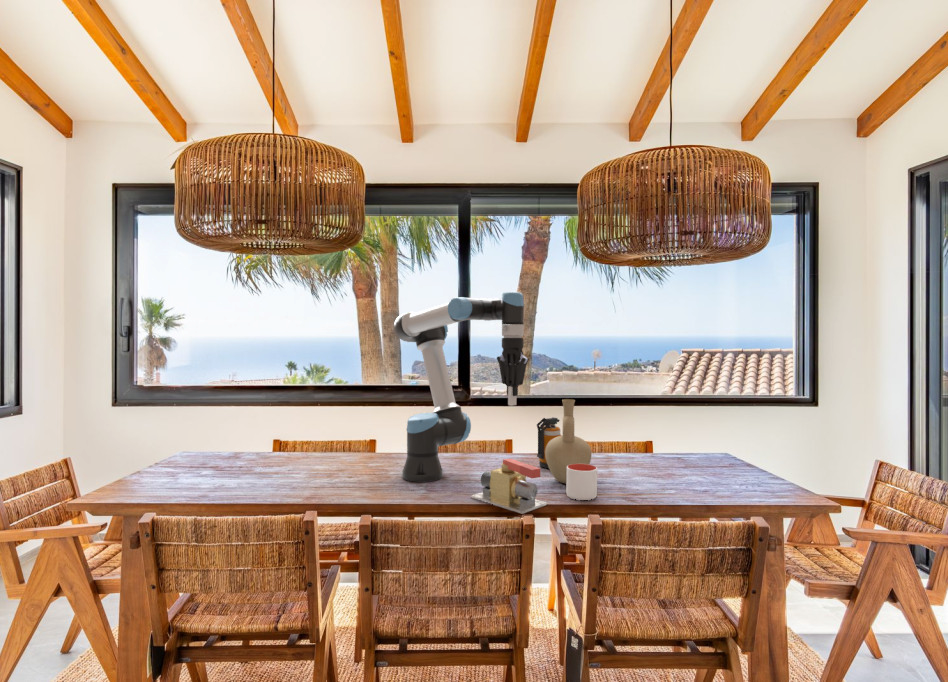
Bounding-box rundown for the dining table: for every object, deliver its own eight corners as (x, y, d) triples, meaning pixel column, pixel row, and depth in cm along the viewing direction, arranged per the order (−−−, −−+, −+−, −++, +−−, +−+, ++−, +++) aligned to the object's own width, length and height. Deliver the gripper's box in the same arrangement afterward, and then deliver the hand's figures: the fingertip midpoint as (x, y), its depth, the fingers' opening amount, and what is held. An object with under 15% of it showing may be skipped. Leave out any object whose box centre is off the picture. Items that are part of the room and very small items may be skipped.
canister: (566, 467, 222) (566, 417, 222) (545, 471, 216) (545, 420, 215) (551, 462, 230) (551, 415, 229) (530, 466, 223) (531, 417, 223)
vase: (592, 489, 192) (593, 403, 191) (544, 486, 195) (544, 402, 194) (590, 476, 208) (590, 397, 208) (545, 474, 211) (546, 396, 210)
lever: (498, 469, 179) (498, 458, 179) (509, 467, 181) (509, 457, 181) (530, 481, 164) (530, 470, 164) (541, 479, 167) (541, 468, 167)
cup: (592, 492, 188) (593, 463, 188) (600, 501, 178) (600, 471, 178) (563, 492, 188) (563, 463, 188) (569, 502, 178) (570, 471, 178)
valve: (471, 497, 182) (471, 467, 182) (495, 490, 190) (495, 461, 190) (522, 513, 166) (522, 481, 166) (546, 505, 175) (546, 473, 174)
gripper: (491, 336, 192) (491, 404, 193) (520, 337, 183) (519, 408, 184) (505, 336, 198) (505, 402, 198) (534, 337, 188) (533, 405, 189)
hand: (512, 405), depth 191 cm, fingers closed
